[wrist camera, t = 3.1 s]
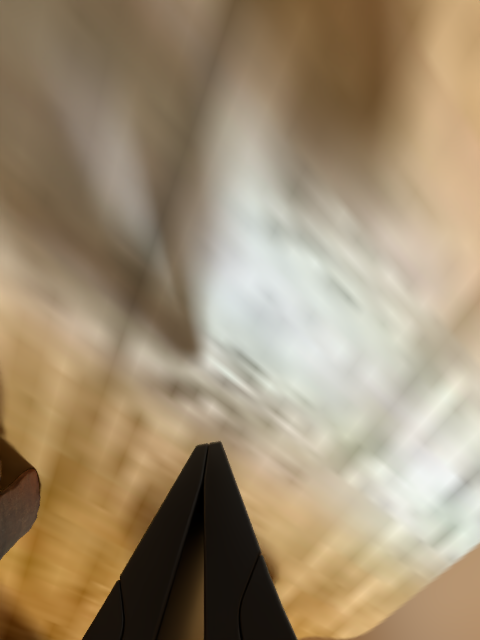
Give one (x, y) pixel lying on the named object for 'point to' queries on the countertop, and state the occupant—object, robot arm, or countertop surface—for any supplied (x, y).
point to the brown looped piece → (18, 509)
